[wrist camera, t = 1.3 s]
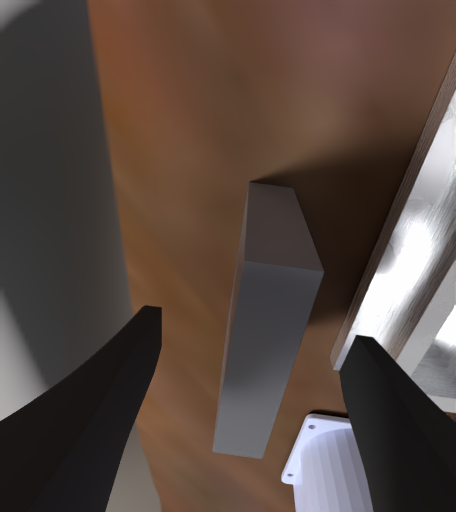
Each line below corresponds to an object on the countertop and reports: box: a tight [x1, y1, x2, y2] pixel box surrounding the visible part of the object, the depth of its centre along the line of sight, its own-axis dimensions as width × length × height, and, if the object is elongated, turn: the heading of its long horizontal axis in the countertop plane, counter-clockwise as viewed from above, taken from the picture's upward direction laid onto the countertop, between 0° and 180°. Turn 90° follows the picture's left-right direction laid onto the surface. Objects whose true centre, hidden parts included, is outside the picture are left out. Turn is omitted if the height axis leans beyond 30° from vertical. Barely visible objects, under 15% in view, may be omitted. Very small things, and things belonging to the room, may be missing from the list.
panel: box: [212, 182, 324, 459], centre depth 13 cm, size 9×2×7 cm, turn 174°
